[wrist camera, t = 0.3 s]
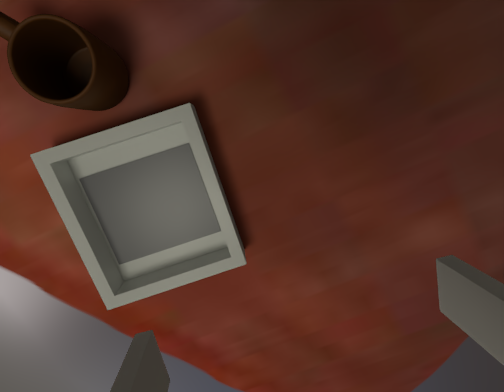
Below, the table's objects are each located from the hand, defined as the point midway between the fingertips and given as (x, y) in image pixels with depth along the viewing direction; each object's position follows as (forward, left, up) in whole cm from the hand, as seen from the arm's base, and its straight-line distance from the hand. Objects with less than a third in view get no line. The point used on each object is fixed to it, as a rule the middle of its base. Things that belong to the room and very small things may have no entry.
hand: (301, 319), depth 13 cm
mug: (-21, -14, -27) cm, 37 cm away
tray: (-3, -12, -27) cm, 30 cm away
